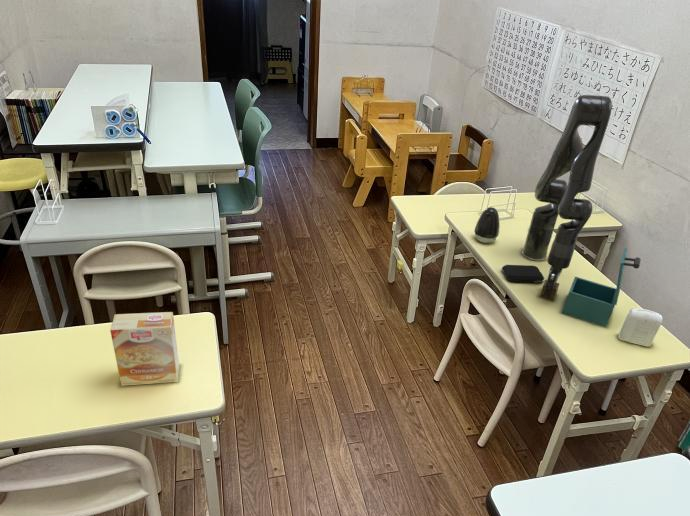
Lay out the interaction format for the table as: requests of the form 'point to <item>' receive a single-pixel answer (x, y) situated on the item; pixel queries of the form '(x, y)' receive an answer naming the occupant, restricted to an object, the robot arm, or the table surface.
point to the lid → (635, 265)
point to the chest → (590, 301)
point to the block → (551, 292)
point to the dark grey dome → (487, 226)
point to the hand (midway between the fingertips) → (549, 291)
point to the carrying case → (523, 273)
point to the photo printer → (640, 327)
